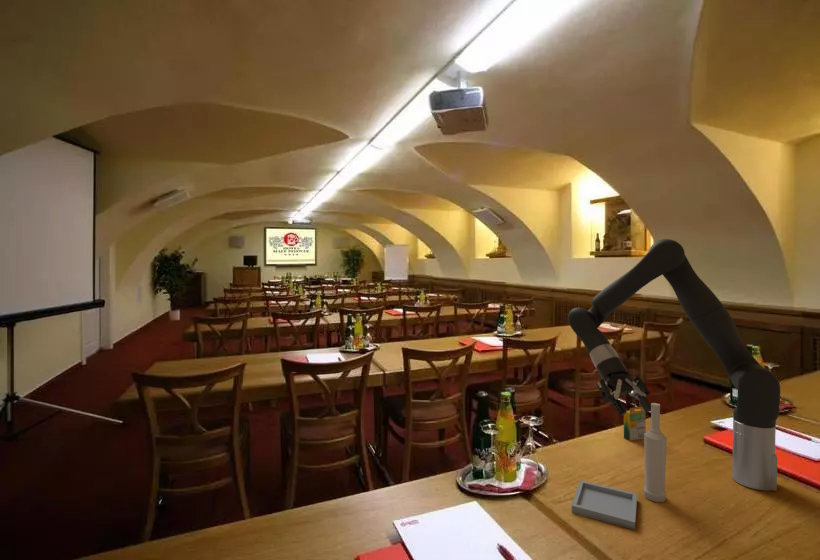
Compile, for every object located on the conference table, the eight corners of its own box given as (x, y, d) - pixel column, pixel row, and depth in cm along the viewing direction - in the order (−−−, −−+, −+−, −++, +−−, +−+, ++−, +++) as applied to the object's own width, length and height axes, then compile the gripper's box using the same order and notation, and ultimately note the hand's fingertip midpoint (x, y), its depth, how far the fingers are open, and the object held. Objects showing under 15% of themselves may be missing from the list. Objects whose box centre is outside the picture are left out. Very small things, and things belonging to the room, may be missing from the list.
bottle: (663, 493, 112) (664, 402, 111) (668, 504, 107) (669, 408, 106) (641, 490, 114) (642, 400, 113) (645, 500, 109) (646, 406, 108)
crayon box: (639, 435, 150) (639, 403, 150) (646, 438, 147) (646, 406, 147) (623, 437, 148) (623, 405, 148) (629, 441, 145) (630, 408, 145)
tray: (637, 500, 109) (637, 493, 109) (635, 529, 97) (635, 522, 97) (580, 486, 116) (580, 480, 116) (571, 512, 104) (571, 505, 104)
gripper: (593, 357, 122) (622, 408, 111) (633, 354, 126) (665, 403, 115) (581, 371, 127) (608, 421, 117) (620, 367, 131) (649, 416, 120)
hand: (636, 412), depth 116 cm, fingers open, 8 cm apart
